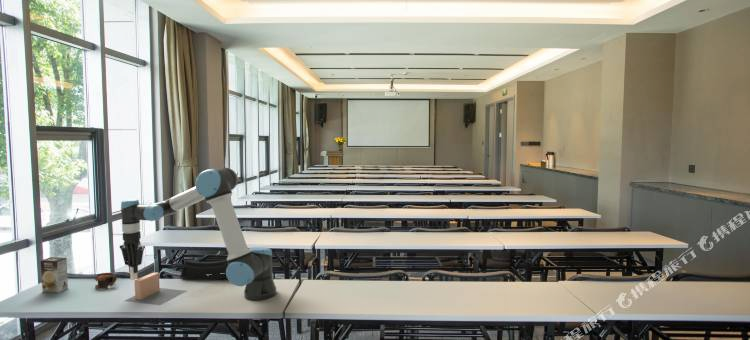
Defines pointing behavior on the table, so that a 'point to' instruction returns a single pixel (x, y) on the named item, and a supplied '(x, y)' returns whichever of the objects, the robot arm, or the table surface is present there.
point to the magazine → (204, 270)
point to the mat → (158, 296)
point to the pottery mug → (105, 280)
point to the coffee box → (54, 274)
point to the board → (146, 285)
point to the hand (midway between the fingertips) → (134, 279)
